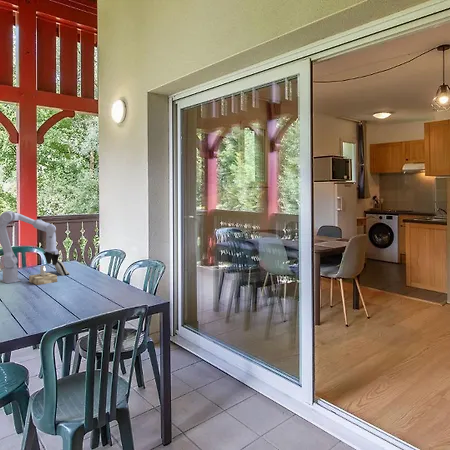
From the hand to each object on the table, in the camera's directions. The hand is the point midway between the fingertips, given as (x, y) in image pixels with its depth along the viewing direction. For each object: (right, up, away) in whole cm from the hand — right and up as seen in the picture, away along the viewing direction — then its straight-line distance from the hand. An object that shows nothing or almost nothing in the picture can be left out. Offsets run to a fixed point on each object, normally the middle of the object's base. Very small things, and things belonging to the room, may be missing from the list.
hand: (51, 264), depth 242 cm
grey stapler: (-2, -9, +19) cm, 21 cm away
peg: (-2, -11, -6) cm, 12 cm away
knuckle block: (-2, -11, -6) cm, 12 cm away
